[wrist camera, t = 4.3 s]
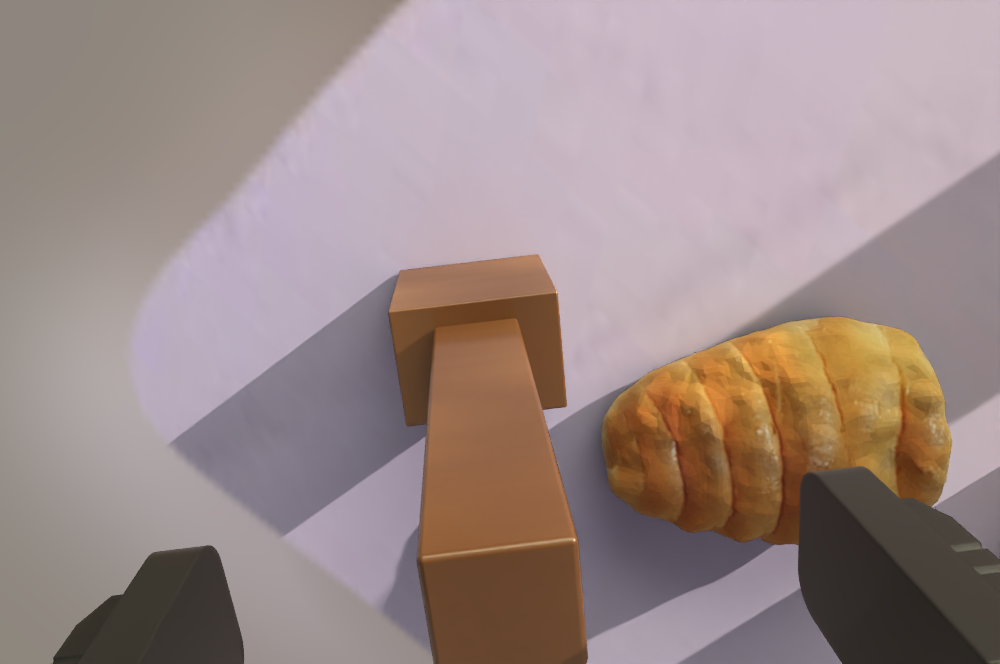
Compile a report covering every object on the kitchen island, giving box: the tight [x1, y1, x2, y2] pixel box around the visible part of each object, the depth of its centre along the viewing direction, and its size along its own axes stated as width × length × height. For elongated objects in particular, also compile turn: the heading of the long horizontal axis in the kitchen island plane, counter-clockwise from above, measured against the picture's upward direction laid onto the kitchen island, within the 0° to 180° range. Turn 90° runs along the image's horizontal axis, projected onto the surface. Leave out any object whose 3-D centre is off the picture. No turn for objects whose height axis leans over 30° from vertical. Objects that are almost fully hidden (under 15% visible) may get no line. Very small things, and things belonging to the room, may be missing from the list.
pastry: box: [602, 317, 952, 545], centre depth 21 cm, size 9×7×4 cm
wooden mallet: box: [388, 255, 588, 664], centre depth 15 cm, size 4×3×13 cm
